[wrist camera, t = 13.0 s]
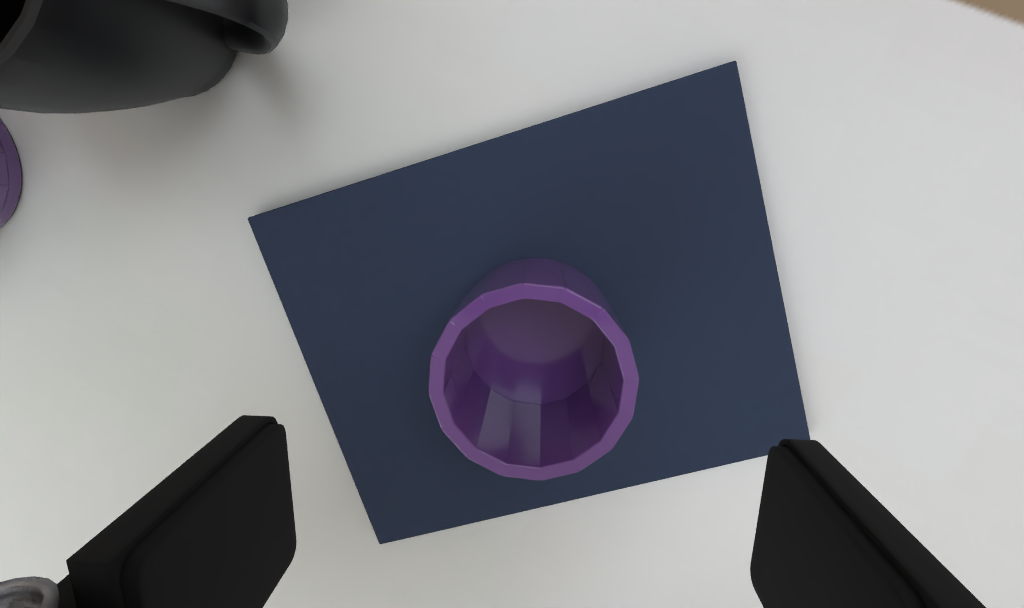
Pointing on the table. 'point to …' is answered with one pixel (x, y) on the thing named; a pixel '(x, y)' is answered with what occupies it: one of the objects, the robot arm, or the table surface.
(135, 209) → the table surface
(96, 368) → the table surface
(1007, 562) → the table surface
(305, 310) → the placemat
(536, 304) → the ramekin
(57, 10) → the mug
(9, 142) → the ramekin
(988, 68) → the table surface
